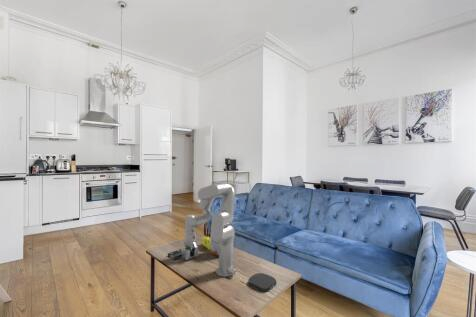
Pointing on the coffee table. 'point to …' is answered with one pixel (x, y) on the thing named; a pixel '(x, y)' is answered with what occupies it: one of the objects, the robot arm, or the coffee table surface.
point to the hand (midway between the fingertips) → (190, 254)
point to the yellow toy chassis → (206, 242)
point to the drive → (188, 253)
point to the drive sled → (175, 254)
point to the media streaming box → (262, 282)
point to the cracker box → (213, 246)
